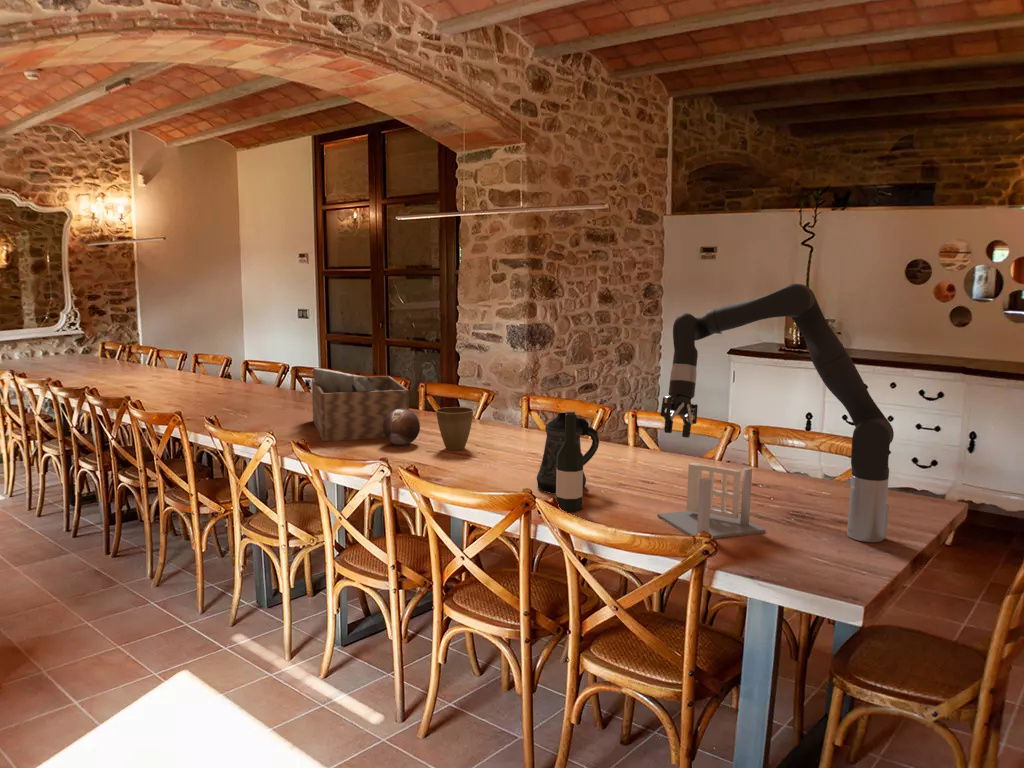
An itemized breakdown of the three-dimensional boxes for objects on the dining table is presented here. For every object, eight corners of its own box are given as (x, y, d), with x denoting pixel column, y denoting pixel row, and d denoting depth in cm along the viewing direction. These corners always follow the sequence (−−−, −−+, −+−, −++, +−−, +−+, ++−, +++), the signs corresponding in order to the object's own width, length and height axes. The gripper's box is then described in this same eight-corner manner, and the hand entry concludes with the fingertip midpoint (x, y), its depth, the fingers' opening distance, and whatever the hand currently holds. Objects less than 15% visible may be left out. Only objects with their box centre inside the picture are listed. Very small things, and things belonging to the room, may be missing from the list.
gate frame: (721, 509, 238) (724, 455, 236) (765, 532, 218) (769, 473, 216) (657, 516, 231) (659, 460, 229) (697, 540, 211) (700, 479, 209)
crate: (390, 416, 379) (389, 375, 376) (409, 436, 336) (408, 390, 334) (313, 420, 367) (311, 378, 364) (322, 441, 325) (321, 393, 322)
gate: (739, 517, 225) (741, 470, 222) (735, 520, 222) (738, 472, 220) (690, 508, 233) (692, 462, 231) (686, 510, 231) (688, 464, 229)
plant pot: (477, 445, 320) (477, 407, 317) (467, 454, 305) (467, 413, 303) (442, 443, 323) (442, 405, 321) (431, 451, 309) (431, 411, 306)
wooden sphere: (380, 448, 313) (379, 411, 310) (386, 440, 328) (385, 405, 325) (418, 449, 313) (417, 412, 311) (422, 440, 328) (421, 405, 325)
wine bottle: (578, 513, 233) (580, 415, 228) (551, 510, 236) (553, 412, 231) (585, 506, 240) (588, 410, 236) (559, 503, 243) (561, 408, 239)
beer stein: (527, 484, 264) (528, 411, 260) (575, 477, 273) (576, 407, 269) (553, 497, 249) (555, 420, 246) (603, 489, 259) (605, 415, 255)
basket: (418, 428, 349) (416, 366, 346) (361, 438, 327) (358, 372, 324) (364, 420, 376) (361, 363, 373) (308, 429, 354) (305, 368, 351)
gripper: (678, 376, 225) (672, 432, 223) (707, 385, 234) (701, 439, 232) (657, 376, 230) (651, 431, 228) (686, 385, 239) (681, 438, 237)
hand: (676, 435), depth 230 cm, fingers open, 8 cm apart
